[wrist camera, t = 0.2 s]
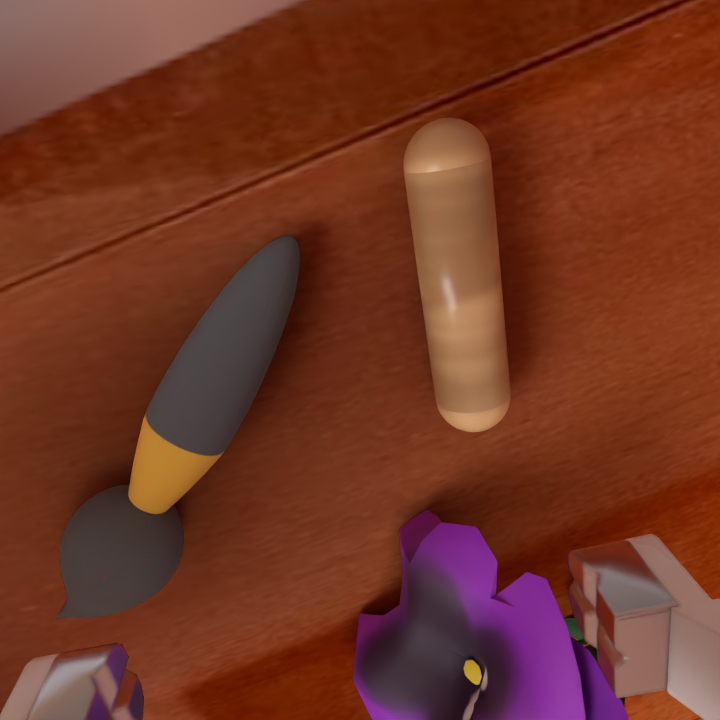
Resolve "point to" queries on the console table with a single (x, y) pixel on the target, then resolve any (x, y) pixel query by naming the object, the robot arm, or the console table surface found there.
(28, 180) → the console table surface
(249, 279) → the paintbrush
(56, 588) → the console table surface
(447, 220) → the stick
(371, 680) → the flower
